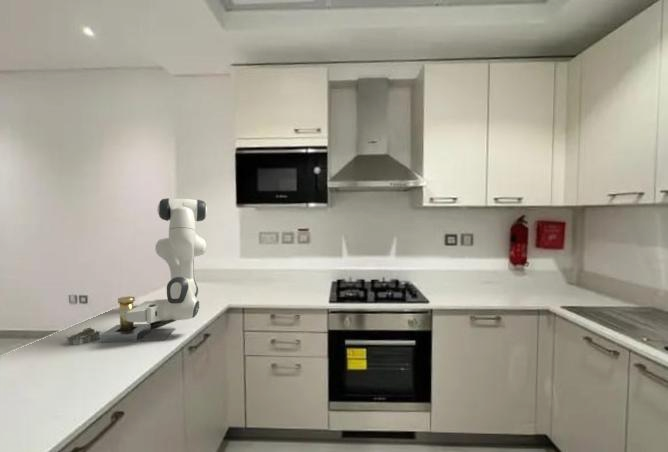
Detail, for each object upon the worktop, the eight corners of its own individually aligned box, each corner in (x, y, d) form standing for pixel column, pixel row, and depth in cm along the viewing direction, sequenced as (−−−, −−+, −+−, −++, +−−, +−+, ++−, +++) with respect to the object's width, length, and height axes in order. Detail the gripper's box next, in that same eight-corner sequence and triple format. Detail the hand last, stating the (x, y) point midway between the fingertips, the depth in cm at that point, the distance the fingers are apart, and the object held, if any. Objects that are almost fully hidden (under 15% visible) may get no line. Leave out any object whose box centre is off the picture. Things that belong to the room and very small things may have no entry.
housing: (117, 331, 161) (117, 324, 161) (150, 330, 163) (150, 323, 163) (100, 342, 147) (100, 335, 147) (137, 341, 149) (136, 333, 149)
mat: (154, 330, 163) (154, 329, 163) (175, 329, 164) (175, 328, 164) (141, 341, 149) (140, 339, 149) (164, 340, 150) (164, 338, 150)
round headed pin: (122, 327, 158) (122, 296, 158) (137, 327, 159) (137, 296, 158) (115, 332, 152) (114, 300, 151) (131, 331, 152) (130, 299, 152)
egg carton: (91, 336, 156) (91, 326, 156) (102, 338, 153) (102, 328, 153) (64, 344, 147) (64, 333, 146) (75, 346, 143) (75, 336, 143)
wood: (171, 317, 185) (171, 311, 185) (183, 318, 183) (183, 312, 183) (135, 330, 164) (135, 324, 164) (149, 332, 162) (149, 325, 162)
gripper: (167, 297, 166) (135, 298, 165) (149, 308, 146) (112, 309, 145) (167, 311, 167) (135, 311, 165) (149, 324, 146) (112, 325, 145)
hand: (124, 311), depth 155 cm, fingers closed on round headed pin, 5 cm apart
